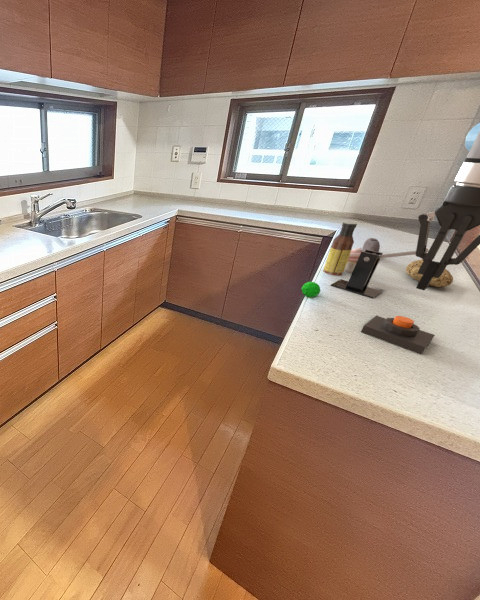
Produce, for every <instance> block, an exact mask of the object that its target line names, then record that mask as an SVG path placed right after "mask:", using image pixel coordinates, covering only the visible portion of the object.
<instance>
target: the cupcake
mask: <svg viewBox="0 0 480 600" xmlns="http://www.w3.org/2000/svg"><path fill="white" fill-rule="evenodd" d="M362 251H363V249H362V248H361V247H356V248H352V250H351V253H350V256H349V258H348V261H347V264H346V266H345V269H344V272H343V273H348V274H352V272H353V270H354V267H355V265H356V263H357V261H358V258H359V256H360V254H361V252H362Z"/></svg>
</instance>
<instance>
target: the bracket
mask: <svg viewBox="0 0 480 600" xmlns="http://www.w3.org/2000/svg"><path fill="white" fill-rule="evenodd" d="M372 253H376V254H372ZM382 254H384V252H381V251H379V252H376V251H372V250H367V249H366V250H365V252H363V250H362V252H361V254H360V256H359V258H358V261H357V263H356V265H355V267H354V270H353V272H352V273H350V277H349V279H348V280H345V279H338V280H337V281H335V282H333V283H331V284H330V287H332V288H336V289H340V290H342V291H345V292H349V293H352V294H356V295H360V296H363V297H365V298H369V299H375V298H376V297H377V296H378V295H380V294H382V292H383V290H380V289H377V288H373V287H369V284H370V282H371V280H372V277H373V276H374V273H375V271H376V269H377V267H378V264H380V263H379V262H380V260H381V258H378V256H379V255H382ZM377 258H378V259H377Z"/></svg>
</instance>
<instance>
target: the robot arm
mask: <svg viewBox="0 0 480 600" xmlns="http://www.w3.org/2000/svg"><path fill="white" fill-rule="evenodd" d="M464 147H465V148H466V150H467V151H468V154H467V155H466V157H465V159H464V161H463V163H462V165H461V167H460V168H459V170H458V172H457V174H456V176H455V177H454V183H456V184H454V185H451V186H450V188H449V190H448V192H447V194H446V195H445V197H444V198H443V199H444V200H443V201H442V203H441V204H440V205H439V206H438V207H436V209H435V210H434V211H431V212H430V211H429V212H427V213H422V214H420V215H418V218H417V219H418V221H419V225H420V226H419V233H418V238H417V243H416V250H415V251H416V255H415V257H418V258H420V259H423V263H422V265H421V267H420V269H419V270H418V274H422V275H423V276H422V278H421V280H420V281H418V283H417V285H416V287H415V289H418V290H420V291H425V290H426V289H428V287H429V286H430V285H429V283H430V282H431V280H432V278H433V277H435V278H439V277H440V276H441V275H442V273H443V272H444V270H445V269H446V268H447V267H448V266H450V265H452V266H454V265H455V266H458V265H460V264H461V263H462V262H463V261H464V260H465V259H466V258H468V256H469V255H471V253H473V252H474V251H475V249H477V248H478V246H480V234H479V235H477V236H476V238H474V239H473V241H472V242H470V243H469V244H468V245H467V246H466V247H465V248H464V249H463V250H462V251H461V252H460V253H459V254H458V255H457V256H456V257H453V256H454V254H455V253H456V251H457V249H458V247H459V246H460V244H461V242H462V240H463V238H464V237H465V235H466V234H467V232H469V231H471V230H473V229H475V228H477V227H479V226H480V122H479V123H477V124H475V125H474V126H473V127H472V128H471V129H470V130H469V131H468V132H467V135H466V136H465V140H464ZM435 218H436V220H437V222H438V224H439V226H440V228H439V230H438V233H437V235H436V237H435V238H434V240H433V242H432V244H431V246H430V248H429V249H428V252H427V253H426V248H427V247H428V241H429V234H430V229H431V223H432V222H433V221H434V220H435ZM451 230H454V231H455V233H454V236H453V237H452V239H451V240H450V243H449V244H448V246H447V248H446V250H445V251H444V253H443V255H442V257H441V259H440V261H435V260H434V259H435V257H436V255H437V254H438V252H439V250H440V248H441V247H442V244H443V242H444V241H445V239H446V238H447V236H448V234H449V232H450V231H451Z"/></svg>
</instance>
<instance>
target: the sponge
mask: <svg viewBox="0 0 480 600" xmlns="http://www.w3.org/2000/svg"><path fill="white" fill-rule="evenodd" d="M422 263H423V259H422V258H420V259H417V260H413V261H412V262H410V263H408V264H407V265H406V267H405V272H406V275H408V276H409V277H410V278H412V279H414V280H416V281H417V282H419V281H420V280H421V278H422V276H423V275H422V274H418V270H419V269H420V267H421V265H422ZM453 280H454V277H453V275H452V274H451V272H450V271H449V270H448V269H446V268H445V270H444V272H443V273H442V275H441V276H440V277H439V278H435V277H433V278H432V280H431V282H430V283H429V285H428V286H431V287H436V288H446V287H448V286H450V285H451V284H453V282H454V281H453Z"/></svg>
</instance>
